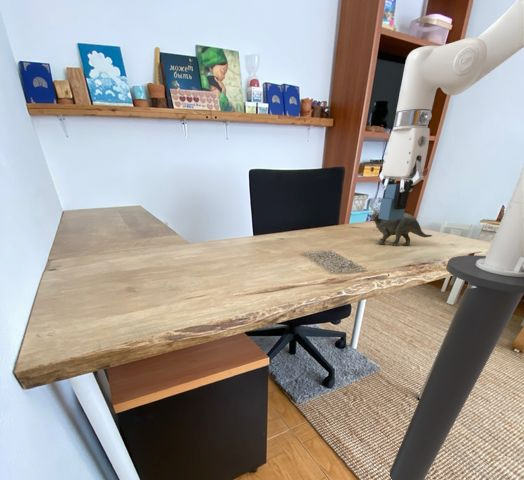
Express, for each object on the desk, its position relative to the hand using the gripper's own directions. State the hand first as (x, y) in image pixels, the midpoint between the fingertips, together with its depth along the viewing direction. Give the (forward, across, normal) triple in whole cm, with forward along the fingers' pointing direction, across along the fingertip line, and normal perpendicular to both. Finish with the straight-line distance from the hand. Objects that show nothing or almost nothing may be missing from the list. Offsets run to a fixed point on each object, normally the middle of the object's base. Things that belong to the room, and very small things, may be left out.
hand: (392, 207), depth 78 cm
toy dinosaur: (+14, +14, -16) cm, 26 cm away
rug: (+14, +2, +16) cm, 21 cm away
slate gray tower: (+3, 0, 0) cm, 3 cm away
